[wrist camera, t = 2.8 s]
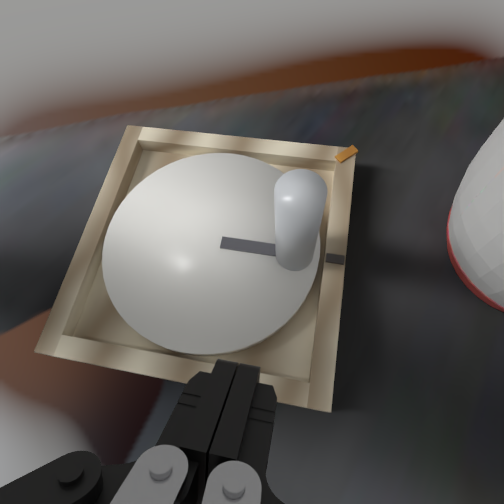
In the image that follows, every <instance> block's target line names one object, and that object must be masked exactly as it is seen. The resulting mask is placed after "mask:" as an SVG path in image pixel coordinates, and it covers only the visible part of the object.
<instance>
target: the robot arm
mask: <svg viewBox="0 0 504 504" xmlns="http://www.w3.org/2000/svg"><path fill="white" fill-rule="evenodd" d="M260 370H261V367H259V366H254V365H249V364H244V363H240V364H239V363H238V362H233V361H228V360H222V359H217V361H216V363H215V365H214V368H213V370H212V372H211V373H207V372H202V371H199V372H198V373H197V374H196V375H194V376H193V377H192V378H191V379H190V380H189V381H188V383H187V385H186V387H185V389H184V391H183V393H182V395H181V397H180V399H179V401H178V403H177V405H176V406H175V408H174V410H173V412H172V414H171V416H170V418H169V420H168V422H167V424H166V426H165V428H164V430H163V432H162V434H161V436H160V438H159V440H158V442H157V444H156V445H155V447H152V448H150V449H149V450H147V451H146V452H144V453H143V454H142V455H141V456H140V457H139V459H138V460H137V461H134V462H131V463H126V464H117V465H106V466H101V462H100V460H99V458H98V457H97V456H96V455H95V454H93V453H91V452H88V451H75V452H71V453H68V454H66V455H64V456H61V457H60V458H58V459H56V460H54V461H52V462H50V463H48V464H46V465H44V466H42V467H40V468H38V469H36V470H34V471H32V472H30V473H28V474H26V475H24V476H22V477H20V478H19V479H16V480H14V481H13V482H11V483H9V484H7V485H5V486H3V487H1V488H0V504H284V503H283V502H282V501H280V500H279V499H278V498H277V497H276V496H275V495H274V494H273V492H272V491H271V489H270V488H269V486H268V483H267V480H266V469H267V463H268V456H269V450H270V444H271V438H272V432H273V425H274V417H275V410H276V403H277V396H276V393H275V390H274V387H273V385H268V384H263V383H259V379H260Z"/></svg>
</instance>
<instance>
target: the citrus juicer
mask: <svg viewBox="0 0 504 504" xmlns="http://www.w3.org/2000/svg"><path fill="white" fill-rule="evenodd" d="M447 250H448V254H449V257H450V261H451V263H452V265H453V267H454V269H455V271H456V273H457V275H458V276H459V278H460V279H461V280H462V281H463V283H464V284H465V285H466V287H467V288H468V289H470V290H471V291H472V292H473V293H474V294H475V295H476V296H477V297H478V298H480V299H481V300H482V301H484V302H485V303H487V304H488V305H490V306H491V307H493V308H495V309H498V310H500V311H502V312H504V119H503V120H502V121H501V123H500V124H499V125H498V127H497V128H496V129H495V130H494V132H493V133H492V134H491V136H490V137H489V138H488V139H487V141H486V142H485V143H484V145H483V146H482V147H481V148H480V150H479V151H478V153H477V154H476V156H475V157H474V159H473V160H472V162H471V163H470V165H469V167H468V169H467V171H466V173H465V175H464V177H463V180H462V182H461V184H460V186H459V188H458V191H457V193H456V195H455V197H454V201H453V205H452V207H451V209H450V211H449V217H448V222H447Z"/></svg>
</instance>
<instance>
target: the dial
mask: <svg viewBox="0 0 504 504" xmlns="http://www.w3.org/2000/svg"><path fill="white" fill-rule="evenodd" d="M327 192H328V191H327V185H326V183H325V181H324V180H323V178H322V177H321V176H320V175H318V174H317V173H315V172H313V171H310V170H307V169H295V170H291V171H288V172H286V173H285V174H284V173H282V172H281V171H280V170H278V169H277V168H275V167H273V166H271V165H269V164H268V163H265V162H263V161H260V160H258V159H255V158H251V157H248V156H244V155H238V154H232V153H207V154H201V155H195V156H191V157H187V158H183V159H180V160H178V161H175V162H173V163H170V164H168V165H166V166H164V167H162V168H160V169H158V170H157V171H155V172H154V173H152V174H151V175H149V176H148V177H146V178H145V179H144V180H143V181H141V182H140V183H139V184H138V185H137V186H136V187H135V188H134V189H133V190H132V191H131V192H130V193H129V194H128V195H127V196H126V198H125V199H124V200H123V201H122V203H121V204H120V206H119V207H118V209H117V210H116V212H115V214H114V216H113V218H112V220H111V222H110V224H109V226H108V230H107V233H106V236H105V240H104V245H103V251H102V269H103V278H104V282H105V286H106V289H107V292H108V294H109V297H110V299H111V301H112V303H113V305H114V307H115V308H116V310H117V311H118V313H119V314H120V316H121V317H122V318H123V319H124V320H125V321H126V322H127V324H128V325H129V326H131V327H132V328H133V329H134V330H135V331H136V332H138V333H139V334H140V335H142V336H143V337H145V338H147V339H148V340H150V341H151V342H153V343H155V344H157V345H159V346H162V347H164V348H166V349H169V350H171V351H175V352H178V353H182V354H186V355H194V356H219V355H226V354H232V353H235V352H239V351H242V350H245V349H248V348H250V347H252V346H255V345H257V344H259V343H261V342H263V341H264V340H266V339H268V338H269V337H271V336H273V335H274V334H275V333H277V332H278V331H279V330H280V329H281V328H283V327H284V326H285V325H286V324H287V323H288V322H289V321H290V320H291V319H292V318H293V317H294V316H295V314H296V313H297V312H298V310H299V309H300V308H301V306H302V305H303V303H304V302H305V300H306V298H307V296H308V294H309V292H310V290H311V288H312V285H313V282H314V279H315V276H316V272H317V268H318V263H319V258H320V234H319V229H320V225H321V220H322V216H323V212H324V207H325V203H326V198H327Z"/></svg>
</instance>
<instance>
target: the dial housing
mask: <svg viewBox="0 0 504 504" xmlns="http://www.w3.org/2000/svg"><path fill="white" fill-rule="evenodd" d="M207 153H232V154H238V155H244V156H248V157H251V158H255V159H258V160H260V161H263V162H265V163H268V164H269V165H271V166H273V167H275V168H277V169H278V170H280V171H281V172H282V173H284V174H285V173H286V172H288V171H291V170H295V169H307V170H310V171H313V172H315V173H317V174H318V175H320V176H321V177H322V178H323V180H324V181H325V183H326V185H327V191H328V192H327V198H326V203H325V207H324V212H323V216H322V220H321V225H320V229H319V234H320V258H319V263H318V268H317V272H316V276H315V279H314V282H313V285H312V288H311V290H310V292H309V294H308V296H307V298H306V300H305V302H304V303H303V305H302V306H301V308H300V309H299V310H298V312H297V313H296V314H295V316H294V317H293V318H292V319H291V320H290V321H289V322H288V323H287V324H286V325H285V326H284V327H283V328H281V329H280V330H279V331H278V332H277V333H275V334H274V335H273V336H271V337H269V338H268V339H266V340H264V341H263V342H261V343H259V344H257V345H255V346H252V347H250V348H248V349H245V350H242V351H239V352H235V353H232V354H226V355H219V356H194V355H186V354H182V353H178V352H175V351H171V350H169V349H166V348H164V347H162V346H159V345H157V344H155V343H153V342H151V341H150V340H148V339H147V338H145V337H143V336H142V335H140V334H139V333H138V332H136V331H135V330H134V329H133V328H132V327H131V326H129V325H128V324H127V322H126V321H125V320H124V319H123V318H122V317H121V316H120V314H119V313H118V311H117V310H116V308H115V307H114V305H113V303H112V301H111V299H110V297H109V294H108V292H107V289H106V286H105V282H104V278H103V269H102V251H103V245H104V240H105V236H106V233H107V230H108V226H109V224H110V222H111V220H112V218H113V216H114V214H115V212H116V210H117V209H118V207H119V206H120V204H121V203H122V201H123V200H124V199H125V198H126V196H127V195H128V194H129V193H130V192H131V191H132V190H133V189H134V188H135V187H136V186H137V185H138V184H139V183H140V182H141V181H143V180H144V179H145V178H146V177H148V176H149V175H151V174H152V173H154V172H155V171H157V170H158V169H160V168H162V167H164V166H166V165H168V164H170V163H173V162H175V161H178V160H180V159H183V158H187V157H191V156H195V155H201V154H207ZM356 153H358V150H357V149H356V148H355V147H354V146H353V145H352V146H350V147H349V148H344V147H335V146H325V145H315V144H305V143H296V142H286V141H276V140H266V139H257V138H247V137H237V136H227V135H218V134H208V133H198V132H188V131H179V130H169V129H159V128H149V127H140V126H130V125H127V128H126V130H125V133H124V135H123V138H122V140H121V142H120V145H119V147H118V150H117V152H116V155H115V157H114V159H113V162H112V164H111V167H110V169H109V172H108V174H107V176H106V179H105V181H104V184H103V186H102V188H101V191H100V193H99V196H98V198H97V201H96V203H95V205H94V208H93V210H92V213H91V215H90V218H89V220H88V222H87V225H86V227H85V230H84V232H83V235H82V237H81V239H80V242H79V244H78V247H77V249H76V251H75V254H74V256H73V259H72V261H71V264H70V266H69V268H68V271H67V273H66V276H65V278H64V281H63V283H62V285H61V288H60V290H59V293H58V295H57V298H56V300H55V302H54V305H53V307H52V310H51V312H50V314H49V317H48V319H47V322H46V324H45V327H44V329H43V331H42V334H41V336H40V339H39V341H38V344H37V346H36V348H35V351H34V352H36V353H40V354H45V355H49V356H53V357H58V358H63V359H68V360H73V361H78V362H82V363H88V364H93V365H97V366H102V367H107V368H112V369H117V370H122V371H127V372H132V373H137V374H142V375H146V376H151V377H156V378H161V379H166V380H171V381H176V382H181V383H186V384H187V383H188V381H189V380H190V379H191V378H192V377H193V376H194V375H196V374H197V373H198V372H199V371H202V372H207V373H211V372H212V370H213V368H214V365H215V363H216V361H217V359H222V360H228V361H233V362H238V363H239V364H240V363H244V364H249V365H254V366H259V367H261V370H260V379H259V383H263V384H268V385H273V387H274V390H275V393H276V396H277V402H279V403H284V404H289V405H294V406H299V407H304V408H309V409H313V410H318V411H323V412H331V408H332V397H333V387H334V376H335V366H336V355H337V345H338V334H339V324H340V313H341V302H342V292H343V281H344V271H345V260H346V250H347V239H348V229H349V218H350V208H351V197H352V187H353V176H354V165H355V155H356Z"/></svg>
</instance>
